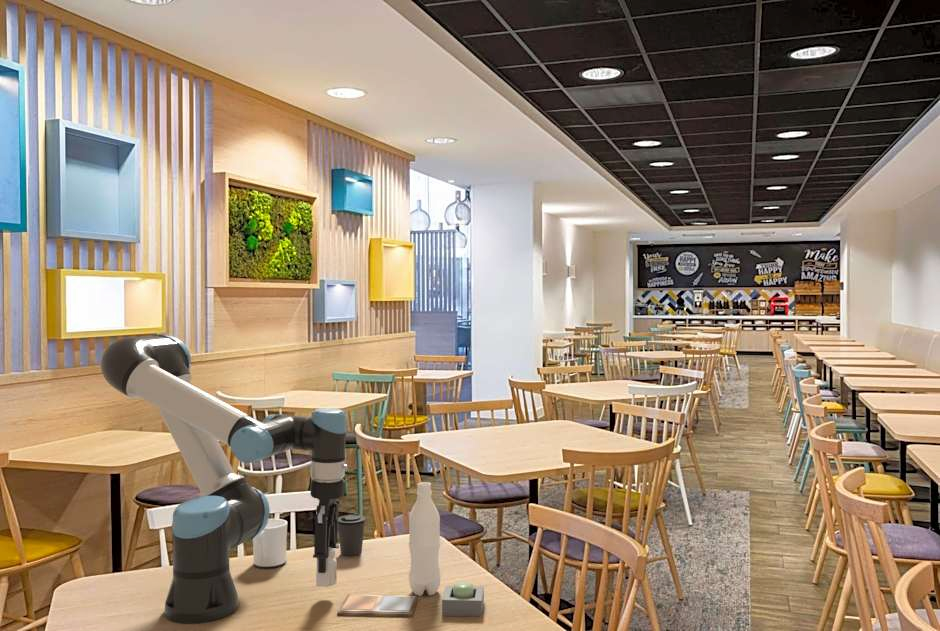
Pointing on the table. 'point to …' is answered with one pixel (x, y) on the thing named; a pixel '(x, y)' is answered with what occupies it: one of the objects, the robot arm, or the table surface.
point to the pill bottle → (332, 567)
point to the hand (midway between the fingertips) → (325, 581)
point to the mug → (271, 545)
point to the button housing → (463, 603)
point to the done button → (463, 590)
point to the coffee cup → (351, 534)
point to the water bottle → (424, 543)
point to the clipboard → (378, 605)
